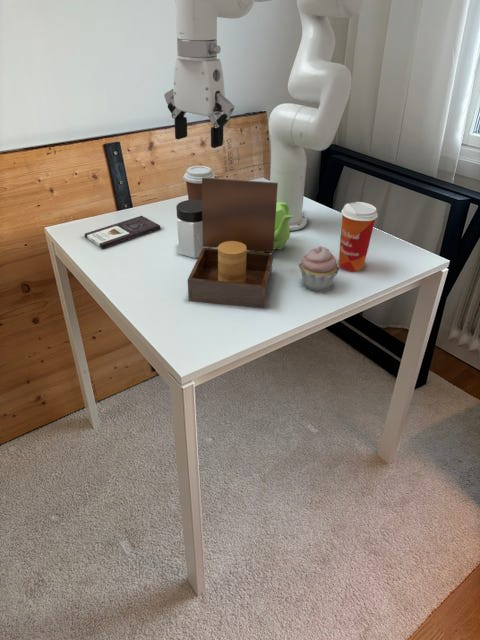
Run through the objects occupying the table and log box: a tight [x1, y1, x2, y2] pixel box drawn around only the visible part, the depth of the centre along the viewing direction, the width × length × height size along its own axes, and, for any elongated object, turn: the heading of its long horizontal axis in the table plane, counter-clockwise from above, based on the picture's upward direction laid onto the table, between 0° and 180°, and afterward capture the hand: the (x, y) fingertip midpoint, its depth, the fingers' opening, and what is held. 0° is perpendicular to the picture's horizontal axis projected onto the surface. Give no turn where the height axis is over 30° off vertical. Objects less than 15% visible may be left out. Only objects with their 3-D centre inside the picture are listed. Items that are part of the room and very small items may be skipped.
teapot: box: [253, 202, 293, 253], centre depth 129 cm, size 16×14×13 cm
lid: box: [202, 177, 278, 253], centre depth 116 cm, size 16×17×5 cm
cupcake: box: [297, 245, 341, 292], centre depth 113 cm, size 9×9×10 cm
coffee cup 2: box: [338, 201, 379, 272], centre depth 120 cm, size 8×8×15 cm
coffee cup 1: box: [182, 165, 216, 200], centre depth 148 cm, size 9×9×12 cm
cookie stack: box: [217, 241, 248, 283], centre depth 112 cm, size 6×6×9 cm
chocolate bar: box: [84, 215, 161, 249], centre depth 137 cm, size 9×1×18 cm
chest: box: [187, 247, 274, 309], centre depth 114 cm, size 15×17×5 cm
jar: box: [175, 199, 211, 259], centre depth 126 cm, size 9×8×12 cm
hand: (198, 142), depth 106 cm, fingers open, 9 cm apart
